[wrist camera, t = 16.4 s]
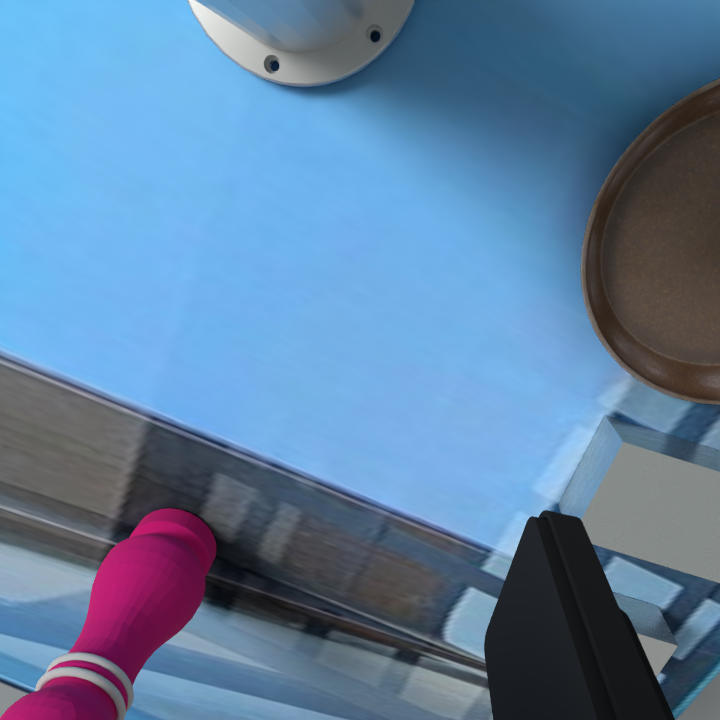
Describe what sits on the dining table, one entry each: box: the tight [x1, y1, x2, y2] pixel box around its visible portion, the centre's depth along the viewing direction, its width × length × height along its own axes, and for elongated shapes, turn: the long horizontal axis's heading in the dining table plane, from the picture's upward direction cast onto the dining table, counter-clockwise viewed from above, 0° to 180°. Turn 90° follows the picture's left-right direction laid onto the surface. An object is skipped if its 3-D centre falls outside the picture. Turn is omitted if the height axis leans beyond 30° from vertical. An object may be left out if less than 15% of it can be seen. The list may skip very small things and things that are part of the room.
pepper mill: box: [0, 508, 217, 720], centre depth 34 cm, size 7×7×20 cm
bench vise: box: [558, 415, 720, 677], centre depth 38 cm, size 21×10×4 cm, turn 164°
